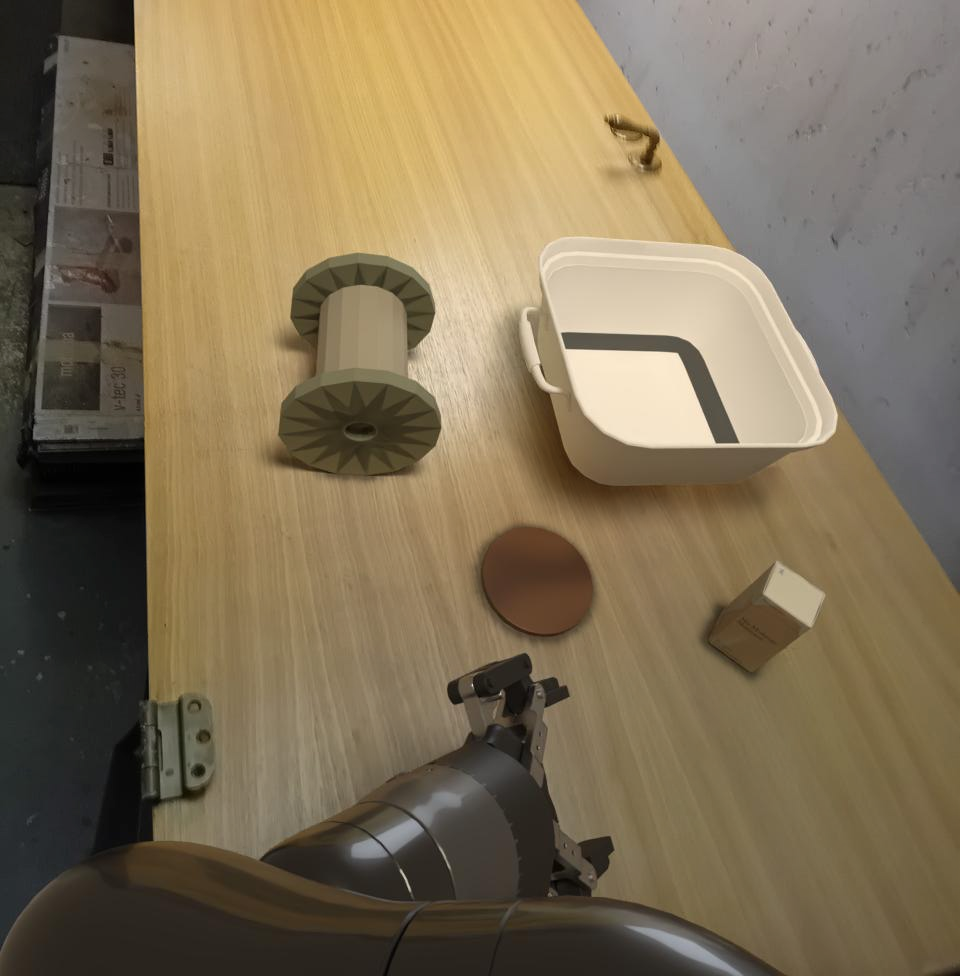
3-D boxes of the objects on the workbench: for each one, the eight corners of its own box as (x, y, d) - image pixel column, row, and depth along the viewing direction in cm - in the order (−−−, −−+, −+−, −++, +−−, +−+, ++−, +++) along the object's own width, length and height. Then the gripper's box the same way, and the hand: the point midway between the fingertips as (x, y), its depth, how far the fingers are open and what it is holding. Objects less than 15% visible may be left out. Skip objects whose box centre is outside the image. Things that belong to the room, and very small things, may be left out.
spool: (424, 479, 87) (454, 389, 76) (274, 470, 83) (284, 374, 73) (420, 356, 98) (445, 263, 87) (287, 344, 94) (297, 245, 84)
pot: (518, 530, 85) (561, 448, 75) (474, 320, 104) (504, 230, 93) (807, 520, 95) (882, 445, 84) (720, 329, 113) (773, 248, 102)
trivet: (613, 596, 83) (615, 593, 82) (532, 659, 77) (534, 657, 76) (540, 511, 87) (541, 508, 87) (458, 565, 81) (459, 562, 81)
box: (706, 641, 82) (759, 590, 74) (722, 609, 85) (775, 556, 77) (754, 676, 80) (813, 628, 73) (768, 642, 83) (827, 592, 75)
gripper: (562, 1041, 34) (673, 888, 48) (467, 672, 39) (594, 631, 53) (410, 1055, 37) (557, 907, 51) (340, 709, 41) (492, 661, 55)
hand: (576, 766), depth 52 cm, fingers open, 8 cm apart
